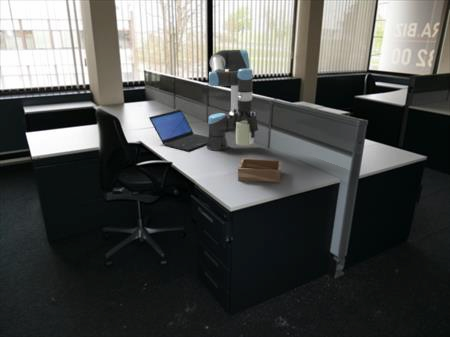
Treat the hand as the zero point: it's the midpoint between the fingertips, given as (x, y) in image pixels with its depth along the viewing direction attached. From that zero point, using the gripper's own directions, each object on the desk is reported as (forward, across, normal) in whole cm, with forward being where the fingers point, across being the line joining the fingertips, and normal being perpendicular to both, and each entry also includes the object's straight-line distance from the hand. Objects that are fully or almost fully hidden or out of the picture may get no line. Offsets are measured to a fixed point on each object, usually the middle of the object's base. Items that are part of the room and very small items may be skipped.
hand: (244, 141), depth 189 cm
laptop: (+20, -75, +21) cm, 80 cm away
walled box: (+20, +7, +5) cm, 22 cm away
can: (+1, 0, 0) cm, 1 cm away
